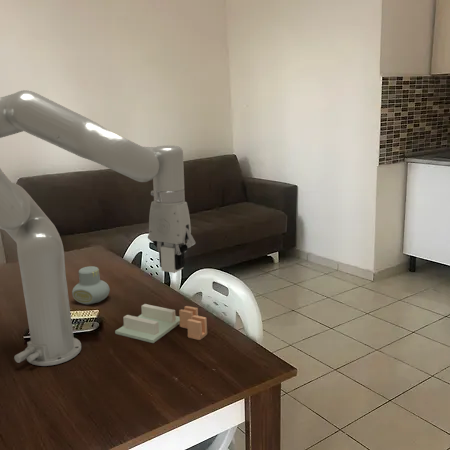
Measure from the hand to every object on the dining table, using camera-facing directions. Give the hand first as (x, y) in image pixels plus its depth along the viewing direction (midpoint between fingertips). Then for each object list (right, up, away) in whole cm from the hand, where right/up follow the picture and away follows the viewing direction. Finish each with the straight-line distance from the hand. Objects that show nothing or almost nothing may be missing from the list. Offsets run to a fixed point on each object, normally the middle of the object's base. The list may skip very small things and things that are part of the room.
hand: (172, 266), depth 126 cm
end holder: (-6, -16, +4) cm, 18 cm away
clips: (+5, -17, +2) cm, 18 cm away
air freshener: (-27, -12, +23) cm, 37 cm away
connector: (0, -1, 0) cm, 1 cm away
